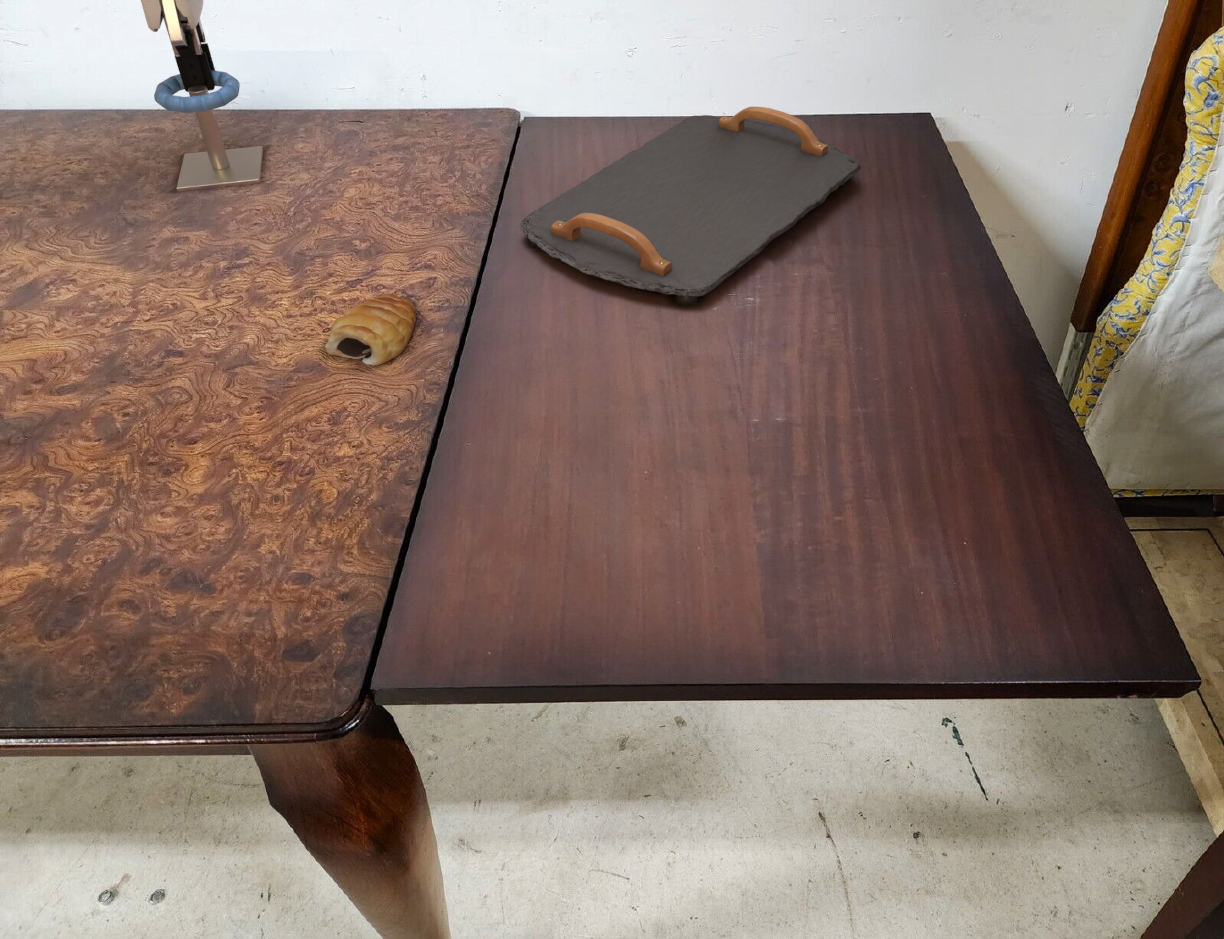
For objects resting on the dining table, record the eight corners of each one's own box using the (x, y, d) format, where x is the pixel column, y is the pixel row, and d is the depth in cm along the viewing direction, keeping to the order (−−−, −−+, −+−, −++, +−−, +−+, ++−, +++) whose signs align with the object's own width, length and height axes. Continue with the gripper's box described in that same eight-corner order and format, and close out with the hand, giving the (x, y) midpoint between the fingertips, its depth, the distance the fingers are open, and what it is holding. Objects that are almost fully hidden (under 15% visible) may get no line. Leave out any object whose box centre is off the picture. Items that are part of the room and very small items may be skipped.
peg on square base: (179, 197, 110) (149, 108, 103) (187, 162, 116) (159, 76, 109) (261, 189, 111) (237, 100, 104) (265, 154, 118) (242, 69, 111)
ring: (152, 118, 104) (147, 103, 103) (162, 85, 110) (158, 71, 109) (238, 110, 105) (234, 96, 104) (243, 79, 112) (239, 64, 110)
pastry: (371, 306, 93) (364, 271, 91) (435, 317, 92) (430, 282, 89) (322, 363, 87) (313, 327, 84) (392, 376, 85) (385, 340, 83)
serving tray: (705, 127, 122) (708, 77, 118) (875, 177, 112) (884, 124, 107) (497, 258, 100) (491, 202, 95) (685, 335, 89) (688, 277, 85)
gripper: (120, -115, 103) (174, 63, 115) (95, -76, 91) (158, 117, 104) (194, -119, 104) (240, 57, 116) (178, -81, 93) (231, 110, 105)
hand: (201, 84), depth 110 cm, fingers closed on ring, 2 cm apart
